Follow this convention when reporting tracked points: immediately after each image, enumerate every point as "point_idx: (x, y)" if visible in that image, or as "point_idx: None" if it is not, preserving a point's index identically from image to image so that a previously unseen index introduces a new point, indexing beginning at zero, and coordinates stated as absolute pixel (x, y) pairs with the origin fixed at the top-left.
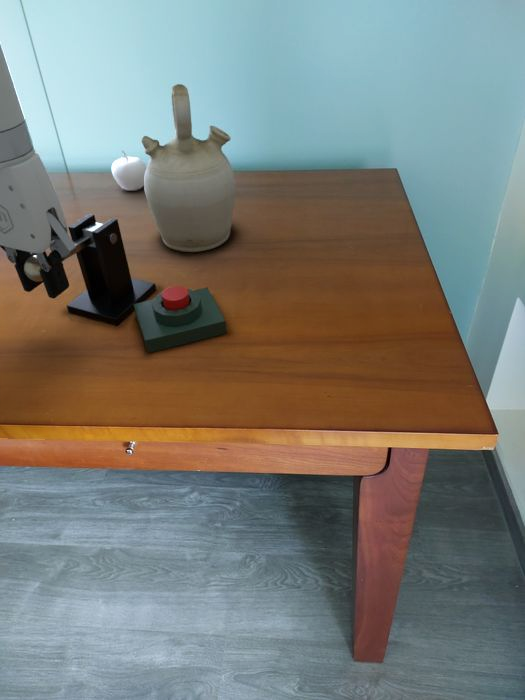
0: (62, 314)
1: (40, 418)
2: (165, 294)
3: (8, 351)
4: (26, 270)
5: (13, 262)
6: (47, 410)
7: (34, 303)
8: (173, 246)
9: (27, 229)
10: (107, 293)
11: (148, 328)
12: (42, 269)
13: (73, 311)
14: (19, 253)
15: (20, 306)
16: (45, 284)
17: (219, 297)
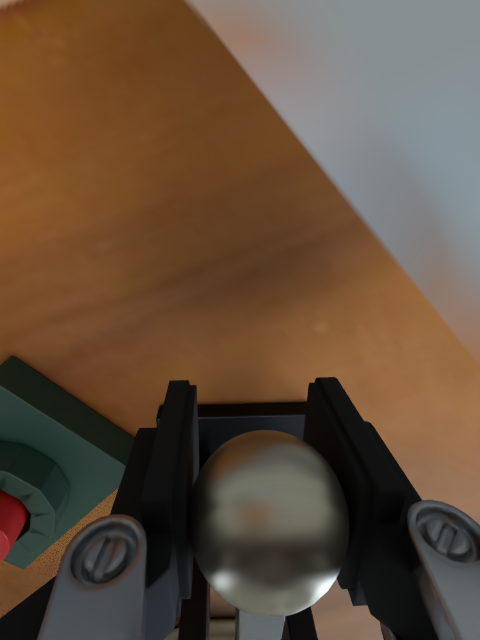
0: None
1: (60, 11)
2: None
3: (359, 227)
4: (290, 477)
5: (426, 508)
6: (70, 54)
7: (412, 397)
8: (226, 628)
9: None
10: None
11: (21, 416)
12: (168, 521)
13: (292, 406)
14: (418, 598)
15: (440, 377)
16: (171, 427)
17: None
